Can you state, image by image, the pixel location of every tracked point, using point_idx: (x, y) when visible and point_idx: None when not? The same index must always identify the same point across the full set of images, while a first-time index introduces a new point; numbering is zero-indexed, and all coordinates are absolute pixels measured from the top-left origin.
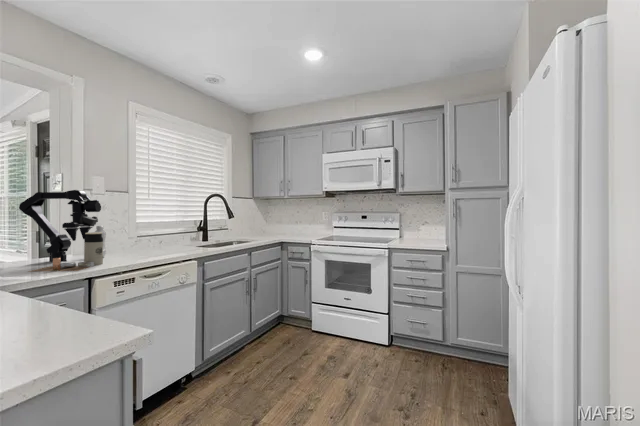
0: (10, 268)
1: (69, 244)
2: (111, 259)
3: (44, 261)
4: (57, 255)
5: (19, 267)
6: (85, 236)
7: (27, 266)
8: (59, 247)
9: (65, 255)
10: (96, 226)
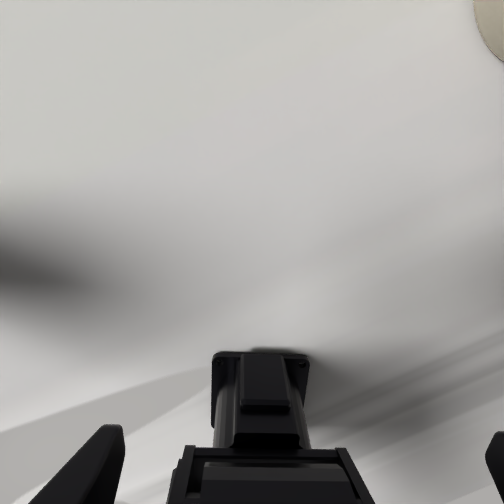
0: (425, 498)
1: (230, 492)
2: (9, 19)
3: (165, 491)
4: (306, 431)
5: (399, 481)
6: (92, 492)
7: (370, 467)
8: (366, 490)
9: (259, 393)
10: None
